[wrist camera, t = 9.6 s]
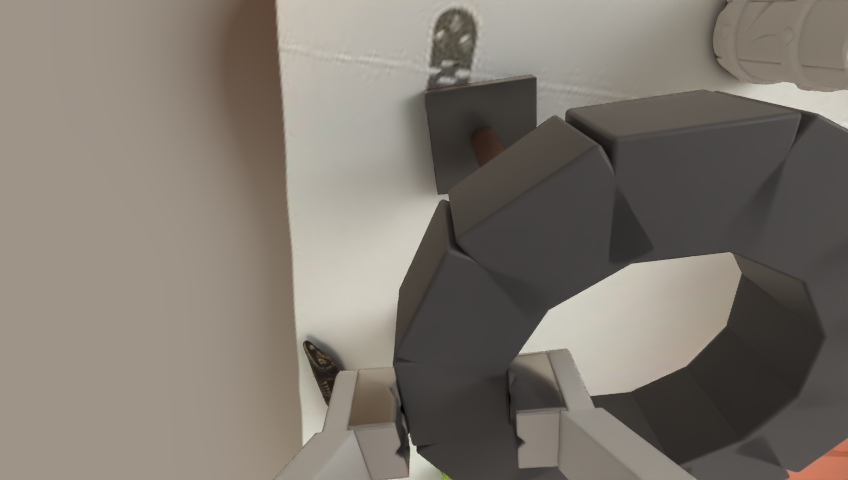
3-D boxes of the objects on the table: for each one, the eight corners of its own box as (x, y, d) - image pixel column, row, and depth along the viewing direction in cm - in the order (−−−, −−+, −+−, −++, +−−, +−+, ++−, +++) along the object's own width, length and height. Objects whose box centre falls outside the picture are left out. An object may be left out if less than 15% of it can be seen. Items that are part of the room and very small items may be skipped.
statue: (409, 472, 47) (361, 350, 38) (352, 480, 48) (291, 362, 38) (410, 440, 51) (367, 321, 41) (357, 448, 51) (302, 333, 42)
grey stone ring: (364, 137, 8) (345, 175, 6) (926, 56, 8) (1116, 68, 6) (432, 458, 14) (434, 537, 12) (768, 426, 13) (836, 504, 11)
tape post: (424, 89, 30) (423, 137, 18) (531, 74, 29) (602, 113, 18) (437, 188, 34) (443, 280, 22) (532, 176, 33) (590, 264, 21)
